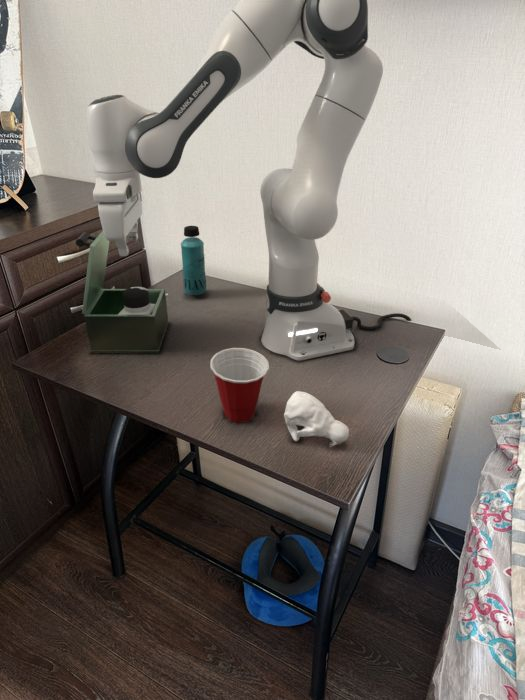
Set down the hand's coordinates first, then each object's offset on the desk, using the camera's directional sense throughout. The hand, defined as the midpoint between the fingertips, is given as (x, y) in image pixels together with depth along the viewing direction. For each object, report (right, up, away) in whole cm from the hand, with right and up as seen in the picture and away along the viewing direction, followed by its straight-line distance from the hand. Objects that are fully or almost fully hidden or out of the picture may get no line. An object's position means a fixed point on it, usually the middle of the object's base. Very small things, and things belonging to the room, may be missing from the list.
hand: (129, 247), depth 111 cm
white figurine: (+39, -39, -19) cm, 58 cm away
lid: (-8, -4, +3) cm, 9 cm away
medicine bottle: (0, -19, +12) cm, 23 cm away
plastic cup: (+25, -35, -13) cm, 45 cm away
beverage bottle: (+10, -7, +33) cm, 36 cm away
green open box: (-3, -20, +12) cm, 23 cm away
